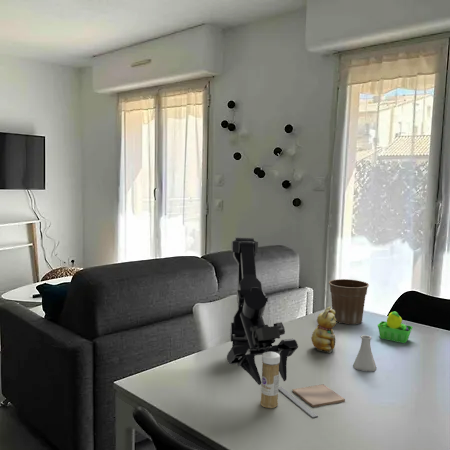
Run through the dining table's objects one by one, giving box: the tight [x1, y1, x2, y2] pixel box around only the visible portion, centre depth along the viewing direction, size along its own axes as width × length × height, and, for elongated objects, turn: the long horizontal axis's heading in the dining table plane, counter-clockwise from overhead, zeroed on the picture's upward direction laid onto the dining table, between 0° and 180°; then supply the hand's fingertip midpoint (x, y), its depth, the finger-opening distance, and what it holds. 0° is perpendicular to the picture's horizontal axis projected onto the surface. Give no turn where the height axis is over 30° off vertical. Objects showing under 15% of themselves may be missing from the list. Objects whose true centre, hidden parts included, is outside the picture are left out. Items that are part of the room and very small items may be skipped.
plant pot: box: [328, 278, 370, 325], centre depth 202 cm, size 16×16×16 cm
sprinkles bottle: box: [260, 352, 280, 409], centre depth 123 cm, size 5×5×13 cm
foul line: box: [278, 386, 319, 419], centre depth 126 cm, size 18×2×1 cm, turn 23°
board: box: [292, 384, 346, 408], centre depth 129 cm, size 10×10×1 cm
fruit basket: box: [377, 311, 413, 344], centre depth 179 cm, size 11×9×11 cm
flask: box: [352, 334, 377, 372], centre depth 150 cm, size 7×7×10 cm
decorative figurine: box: [310, 306, 337, 354], centre depth 165 cm, size 10×8×15 cm
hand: (272, 382), depth 122 cm, fingers open, 7 cm apart
